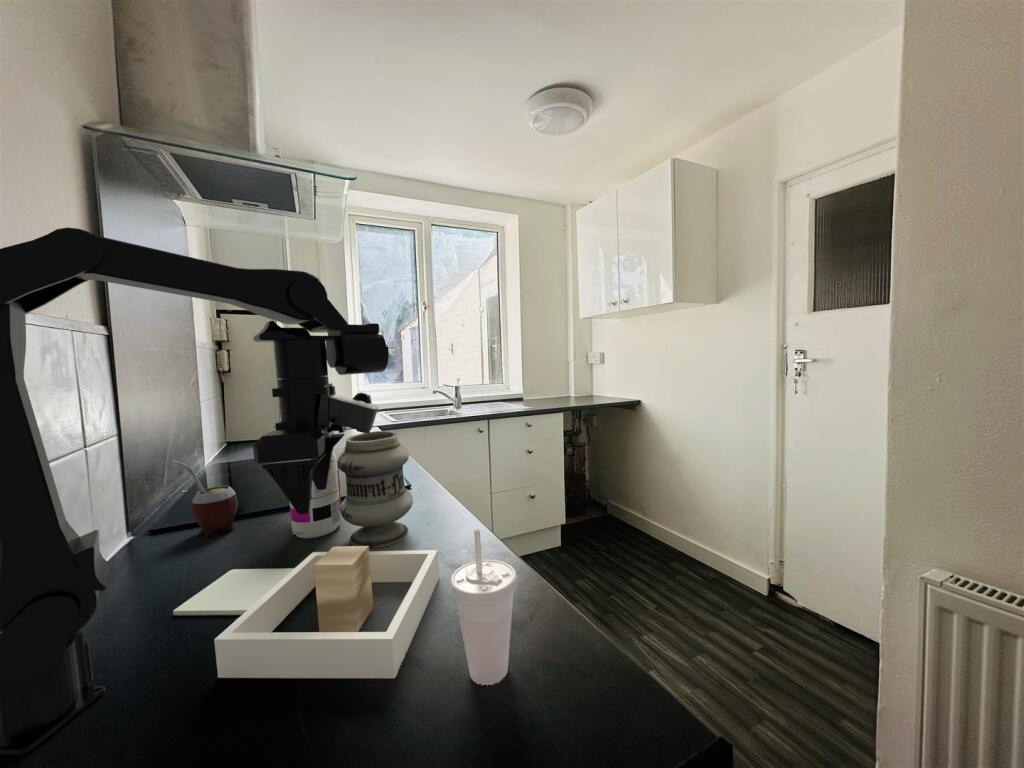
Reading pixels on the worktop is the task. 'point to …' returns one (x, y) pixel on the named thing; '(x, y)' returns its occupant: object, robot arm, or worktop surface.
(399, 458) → the apothecary jar
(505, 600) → the smoothie
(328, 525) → the supplement can
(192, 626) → the worktop surface
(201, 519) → the mate gourd
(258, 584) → the sage mat
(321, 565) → the maple block
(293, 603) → the white square frame
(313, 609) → the worktop surface
